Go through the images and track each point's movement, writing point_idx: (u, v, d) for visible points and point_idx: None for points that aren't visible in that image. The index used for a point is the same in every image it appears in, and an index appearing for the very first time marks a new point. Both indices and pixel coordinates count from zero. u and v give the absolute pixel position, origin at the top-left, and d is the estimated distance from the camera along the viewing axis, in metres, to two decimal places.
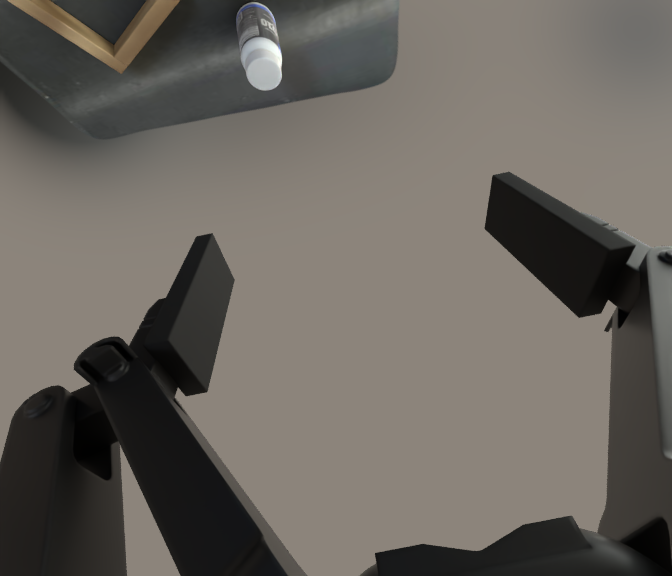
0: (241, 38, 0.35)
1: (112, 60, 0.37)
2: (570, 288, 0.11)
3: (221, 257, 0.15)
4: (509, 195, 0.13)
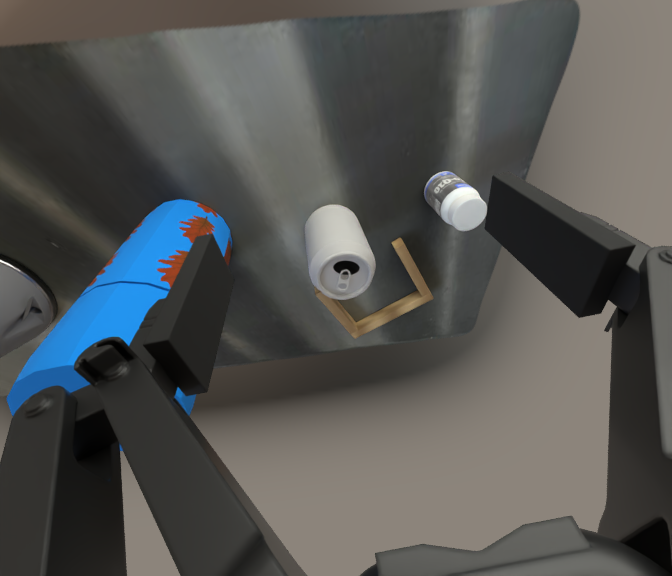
0: (439, 215, 0.39)
1: (423, 298, 0.50)
2: (570, 288, 0.11)
3: (221, 257, 0.15)
4: (509, 195, 0.13)
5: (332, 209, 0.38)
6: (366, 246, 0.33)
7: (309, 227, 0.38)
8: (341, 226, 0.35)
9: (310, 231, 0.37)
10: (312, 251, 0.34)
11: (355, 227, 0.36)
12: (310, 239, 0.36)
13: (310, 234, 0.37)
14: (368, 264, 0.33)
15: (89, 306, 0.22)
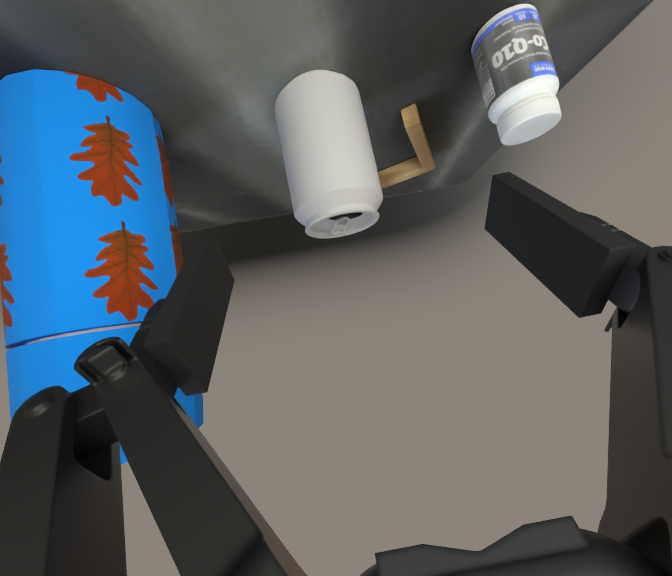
0: None
1: (423, 170, 0.41)
2: (570, 288, 0.11)
3: (221, 257, 0.15)
4: (509, 195, 0.13)
5: (321, 88, 0.23)
6: (375, 186, 0.24)
7: (285, 122, 0.24)
8: (339, 145, 0.23)
9: (289, 136, 0.24)
10: (297, 189, 0.24)
11: (359, 139, 0.24)
12: (290, 156, 0.24)
13: (289, 143, 0.24)
14: (375, 214, 0.25)
15: (39, 384, 0.17)
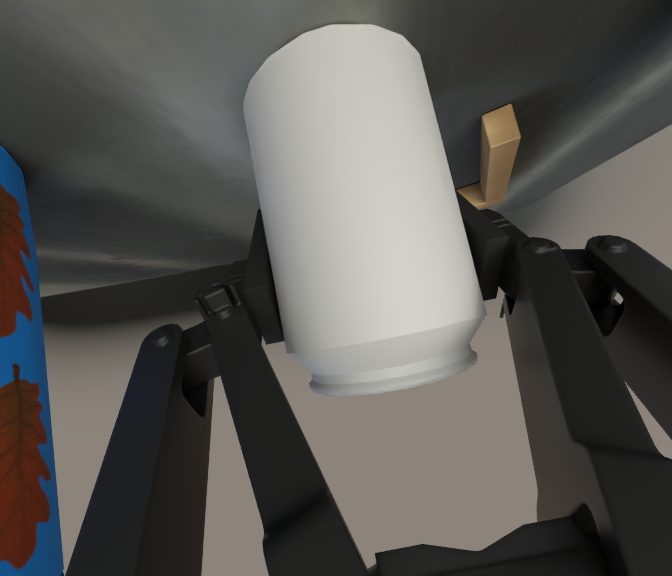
0: None
1: (486, 204, 0.27)
2: None
3: None
4: None
5: (351, 66, 0.09)
6: (480, 306, 0.10)
7: (263, 147, 0.10)
8: (399, 214, 0.09)
9: (272, 183, 0.10)
10: (292, 313, 0.10)
11: (443, 191, 0.10)
12: (276, 229, 0.10)
13: (272, 199, 0.10)
14: None
15: None
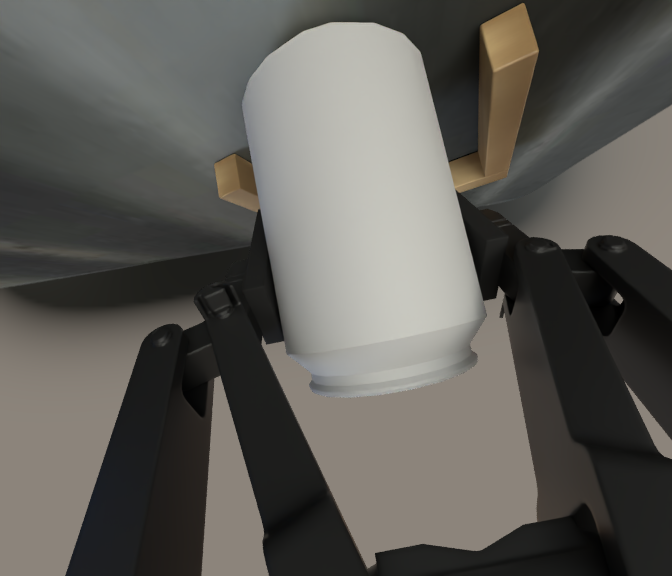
0: None
1: (485, 179, 0.22)
2: None
3: None
4: None
5: (351, 65, 0.09)
6: (481, 308, 0.10)
7: (262, 147, 0.10)
8: (400, 215, 0.09)
9: (271, 183, 0.10)
10: (292, 314, 0.10)
11: (443, 192, 0.10)
12: (276, 230, 0.10)
13: (272, 200, 0.10)
14: None
15: None
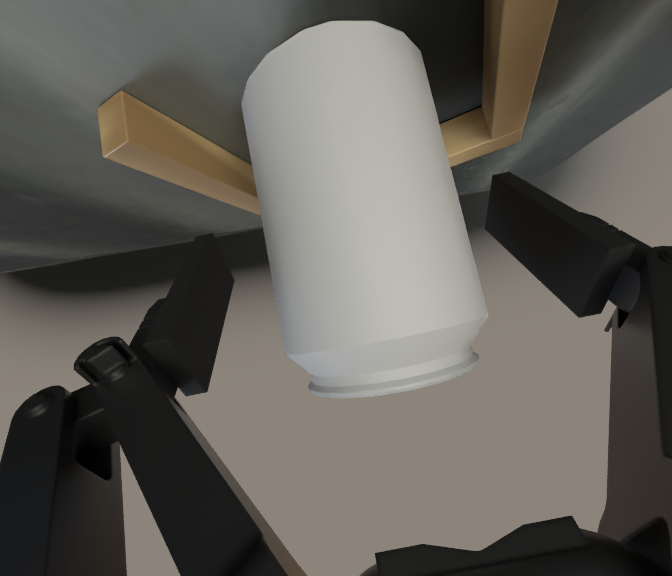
0: None
1: (492, 144, 0.16)
2: (570, 288, 0.11)
3: (221, 257, 0.15)
4: (509, 195, 0.13)
5: (350, 63, 0.09)
6: (482, 308, 0.10)
7: (262, 146, 0.10)
8: (400, 213, 0.09)
9: (270, 182, 0.10)
10: (291, 314, 0.10)
11: (444, 190, 0.09)
12: (274, 229, 0.10)
13: (271, 198, 0.10)
14: None
15: None
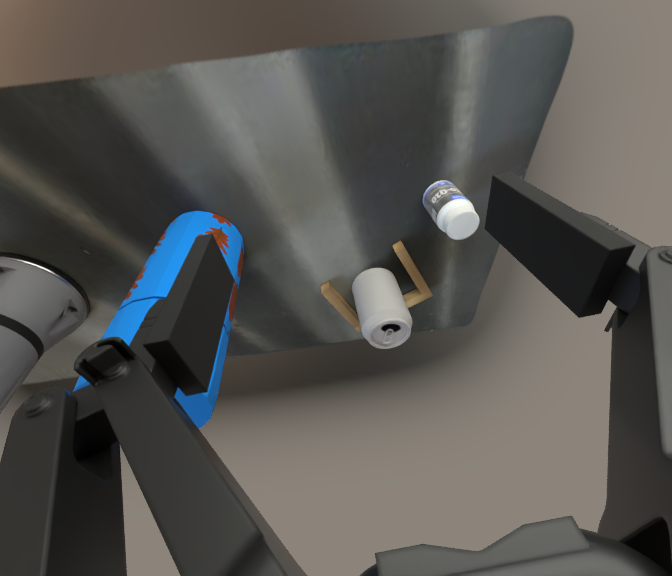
0: None
1: (423, 296, 0.54)
2: (570, 288, 0.11)
3: (221, 257, 0.15)
4: (509, 195, 0.13)
5: (376, 273, 0.49)
6: (406, 311, 0.44)
7: (358, 288, 0.49)
8: (385, 293, 0.45)
9: (360, 293, 0.48)
10: (364, 314, 0.45)
11: (396, 292, 0.46)
12: (360, 301, 0.47)
13: (360, 295, 0.47)
14: (408, 326, 0.43)
15: (129, 320, 0.26)
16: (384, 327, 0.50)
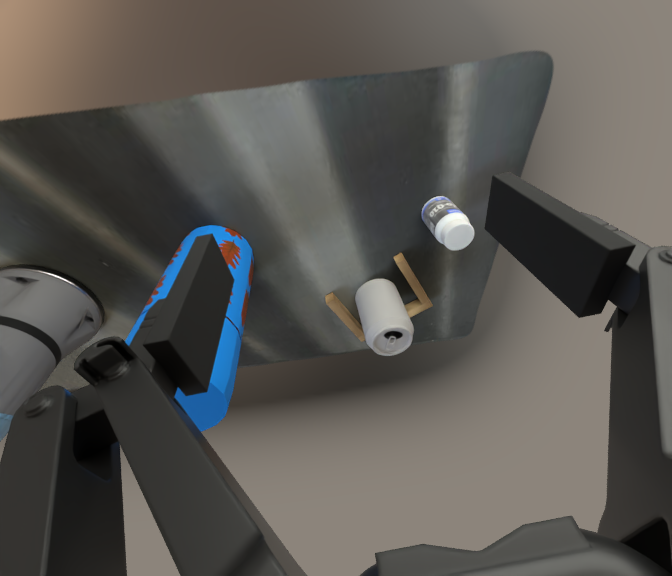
0: None
1: (423, 306, 0.56)
2: (570, 288, 0.11)
3: (221, 257, 0.15)
4: (509, 195, 0.13)
5: (378, 283, 0.51)
6: (407, 319, 0.46)
7: (361, 297, 0.51)
8: (388, 302, 0.47)
9: (363, 302, 0.50)
10: (367, 322, 0.47)
11: (397, 301, 0.48)
12: (364, 310, 0.49)
13: (363, 305, 0.50)
14: (409, 333, 0.45)
15: None
16: (386, 335, 0.52)
